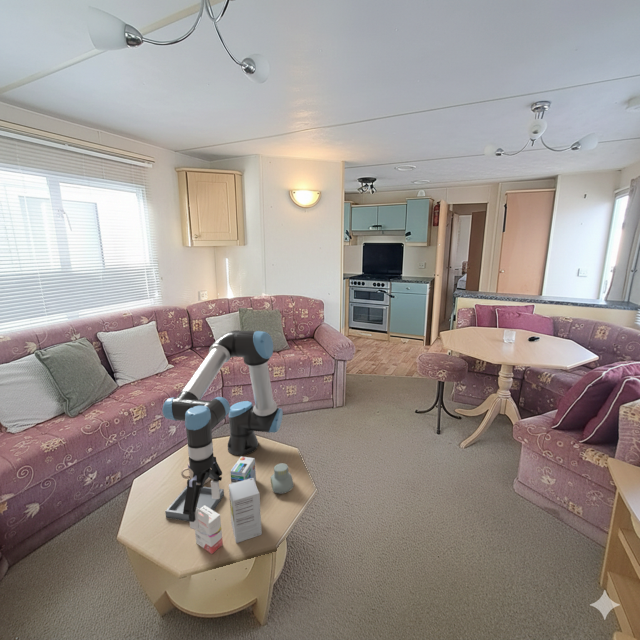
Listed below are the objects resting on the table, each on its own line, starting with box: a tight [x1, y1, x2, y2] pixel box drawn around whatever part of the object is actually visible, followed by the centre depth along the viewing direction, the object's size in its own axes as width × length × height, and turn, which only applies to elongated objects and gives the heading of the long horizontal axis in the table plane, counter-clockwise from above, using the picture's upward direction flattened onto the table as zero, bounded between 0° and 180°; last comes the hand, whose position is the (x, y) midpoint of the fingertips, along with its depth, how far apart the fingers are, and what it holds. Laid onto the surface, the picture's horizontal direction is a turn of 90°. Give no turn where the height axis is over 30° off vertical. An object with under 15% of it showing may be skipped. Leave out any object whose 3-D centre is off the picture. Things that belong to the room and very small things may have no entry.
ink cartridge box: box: [194, 505, 223, 555], centre depth 115 cm, size 9×5×15 cm, turn 56°
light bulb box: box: [229, 456, 257, 484], centre depth 143 cm, size 11×7×11 cm, turn 168°
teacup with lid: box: [180, 461, 212, 485], centre depth 147 cm, size 12×9×12 cm
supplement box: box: [228, 478, 263, 544], centre depth 120 cm, size 10×9×17 cm
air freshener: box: [270, 462, 294, 495], centre depth 142 cm, size 11×8×10 cm
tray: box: [164, 485, 225, 523], centre depth 133 cm, size 15×16×3 cm
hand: (206, 512), depth 114 cm, fingers open, 13 cm apart
